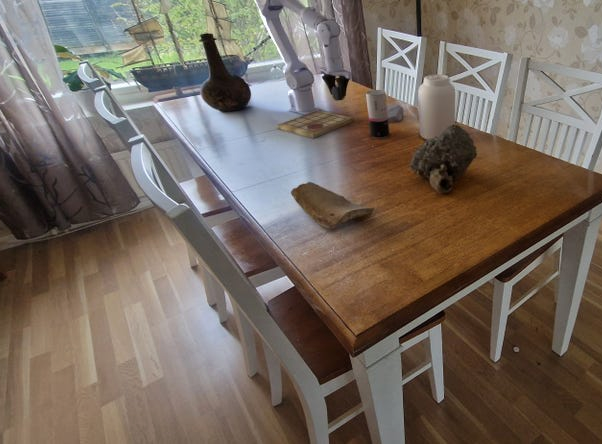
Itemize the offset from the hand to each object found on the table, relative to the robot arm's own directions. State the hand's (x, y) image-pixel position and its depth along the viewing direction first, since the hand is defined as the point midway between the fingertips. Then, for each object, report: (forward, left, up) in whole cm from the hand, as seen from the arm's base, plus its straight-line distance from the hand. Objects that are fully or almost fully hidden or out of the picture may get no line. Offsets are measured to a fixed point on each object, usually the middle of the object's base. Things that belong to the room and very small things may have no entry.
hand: (338, 95), depth 144 cm
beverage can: (+26, -8, -8) cm, 28 cm away
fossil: (+47, -54, -8) cm, 72 cm away
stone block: (+17, +8, -8) cm, 20 cm away
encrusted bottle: (+63, -27, -8) cm, 69 cm away
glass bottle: (-46, -16, -8) cm, 50 cm away
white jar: (+43, +3, -8) cm, 44 cm away
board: (-1, -12, -8) cm, 15 cm away
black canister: (0, 0, -1) cm, 1 cm away
